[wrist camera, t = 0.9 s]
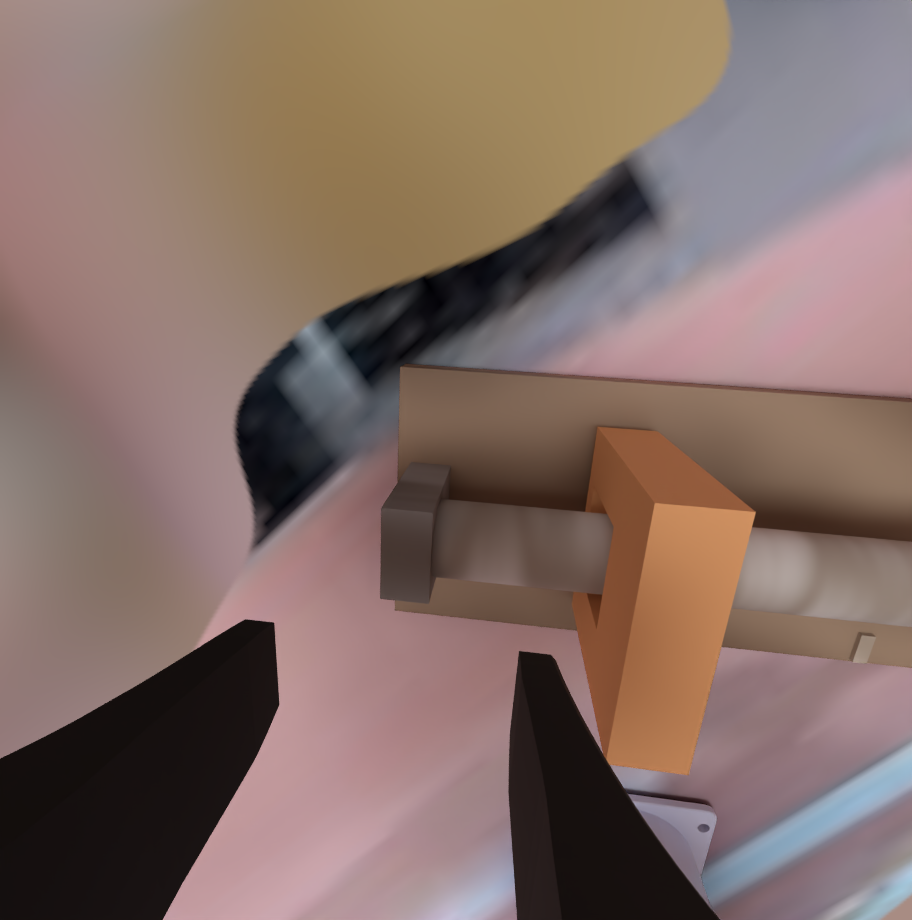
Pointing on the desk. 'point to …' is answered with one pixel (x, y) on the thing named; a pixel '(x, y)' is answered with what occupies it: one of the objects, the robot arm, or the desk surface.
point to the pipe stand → (589, 534)
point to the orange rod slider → (657, 597)
